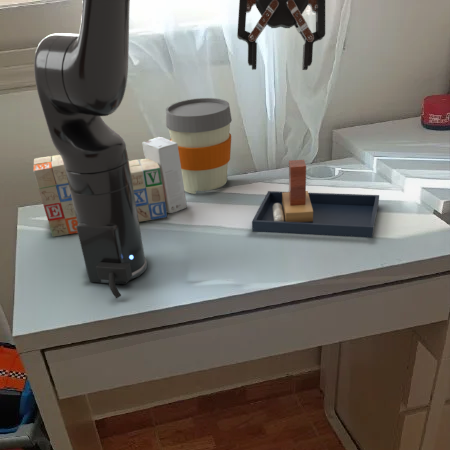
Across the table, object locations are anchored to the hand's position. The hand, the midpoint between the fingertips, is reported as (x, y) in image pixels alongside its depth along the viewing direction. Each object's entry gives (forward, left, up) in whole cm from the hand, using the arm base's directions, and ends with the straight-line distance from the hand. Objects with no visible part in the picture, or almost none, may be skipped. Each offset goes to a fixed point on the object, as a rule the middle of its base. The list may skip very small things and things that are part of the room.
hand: (279, 69), depth 101 cm
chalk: (-11, -1, -21) cm, 24 cm away
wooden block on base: (-9, -5, -21) cm, 24 cm away
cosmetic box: (-6, +21, -22) cm, 31 cm away
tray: (-9, -8, -22) cm, 26 cm away
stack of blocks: (-13, +30, -22) cm, 40 cm away
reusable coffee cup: (+5, +17, -22) cm, 29 cm away
